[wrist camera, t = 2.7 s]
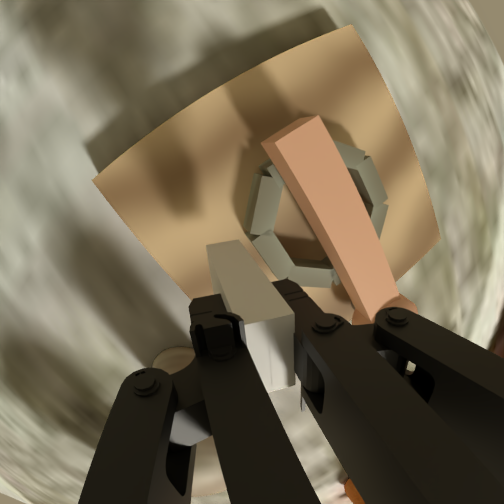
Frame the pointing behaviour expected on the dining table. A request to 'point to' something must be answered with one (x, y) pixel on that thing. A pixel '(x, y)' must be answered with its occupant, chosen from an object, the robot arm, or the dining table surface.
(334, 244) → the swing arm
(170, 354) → the leg peg
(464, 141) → the dining table surface
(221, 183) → the stool seat
